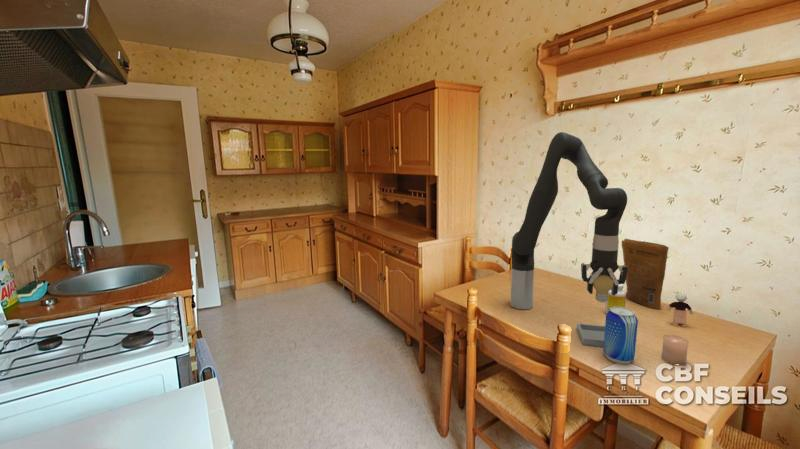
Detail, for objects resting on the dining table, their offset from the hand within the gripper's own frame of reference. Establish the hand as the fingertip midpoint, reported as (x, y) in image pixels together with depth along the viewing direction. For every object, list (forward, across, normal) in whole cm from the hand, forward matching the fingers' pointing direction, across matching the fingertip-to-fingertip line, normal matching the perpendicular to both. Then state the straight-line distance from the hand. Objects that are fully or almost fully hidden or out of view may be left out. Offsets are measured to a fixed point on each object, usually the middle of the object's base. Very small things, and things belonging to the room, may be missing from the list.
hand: (601, 293), depth 120 cm
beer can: (+17, +3, -12) cm, 21 cm away
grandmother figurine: (+17, +31, +18) cm, 40 cm away
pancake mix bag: (+17, +25, +38) cm, 49 cm away
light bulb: (+3, 0, 0) cm, 3 cm away
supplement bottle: (+17, +11, +24) cm, 31 cm away
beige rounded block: (+17, +19, -9) cm, 27 cm away
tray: (+17, 0, 0) cm, 17 cm away
